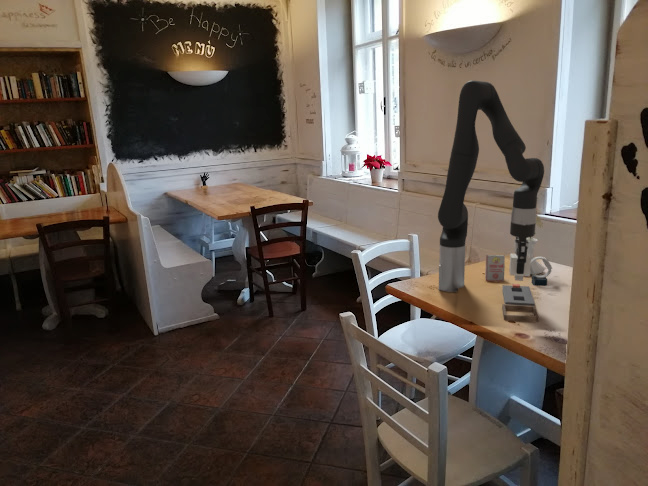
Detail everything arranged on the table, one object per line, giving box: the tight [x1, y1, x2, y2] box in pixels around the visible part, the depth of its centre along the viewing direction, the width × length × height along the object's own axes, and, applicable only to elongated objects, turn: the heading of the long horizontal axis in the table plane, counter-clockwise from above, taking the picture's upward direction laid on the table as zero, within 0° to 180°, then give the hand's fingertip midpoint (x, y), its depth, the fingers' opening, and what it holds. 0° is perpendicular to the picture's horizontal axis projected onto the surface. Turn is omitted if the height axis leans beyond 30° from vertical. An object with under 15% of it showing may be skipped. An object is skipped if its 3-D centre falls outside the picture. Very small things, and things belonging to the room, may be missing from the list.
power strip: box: [501, 283, 536, 307], centre depth 175 cm, size 9×17×4 cm, turn 164°
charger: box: [508, 253, 531, 282], centre depth 168 cm, size 6×5×8 cm
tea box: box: [484, 254, 506, 282], centre depth 199 cm, size 4×7×10 cm, turn 76°
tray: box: [501, 303, 540, 323], centre depth 162 cm, size 10×9×3 cm
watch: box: [530, 255, 553, 287], centre depth 191 cm, size 6×8×11 cm
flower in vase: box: [526, 214, 546, 275], centre depth 205 cm, size 13×11×25 cm
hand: (519, 270), depth 168 cm, fingers closed on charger, 5 cm apart
